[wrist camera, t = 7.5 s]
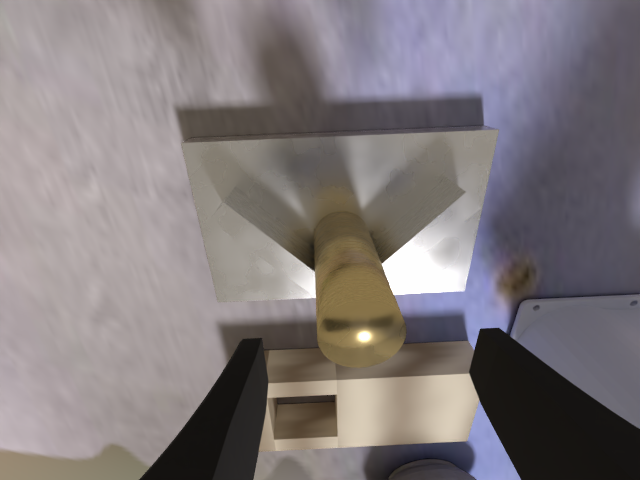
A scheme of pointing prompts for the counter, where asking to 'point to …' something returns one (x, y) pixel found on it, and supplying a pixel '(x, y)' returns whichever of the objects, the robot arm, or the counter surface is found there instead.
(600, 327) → the robot arm
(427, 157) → the v-block
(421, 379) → the beam
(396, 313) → the axle
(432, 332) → the counter surface
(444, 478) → the coffee pot
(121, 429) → the counter surface
